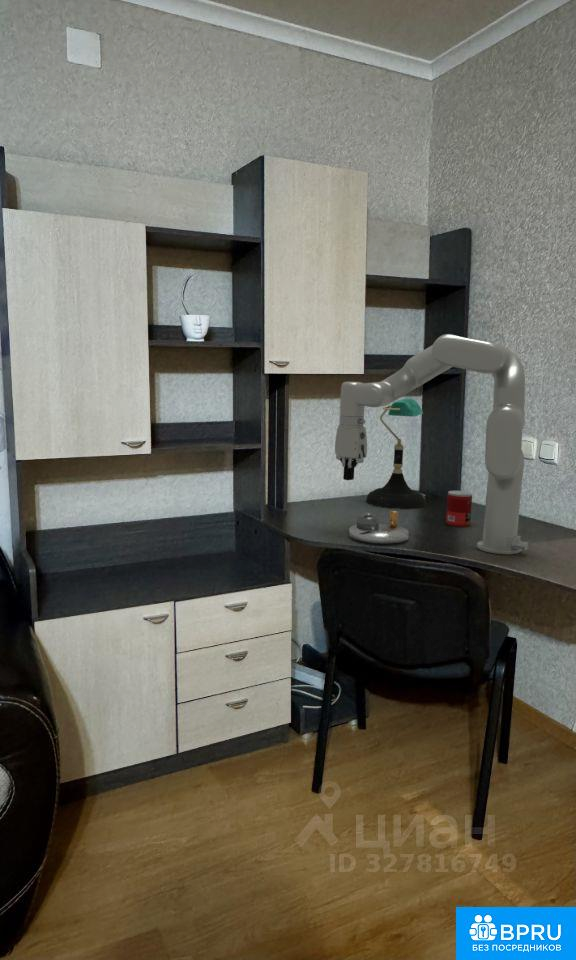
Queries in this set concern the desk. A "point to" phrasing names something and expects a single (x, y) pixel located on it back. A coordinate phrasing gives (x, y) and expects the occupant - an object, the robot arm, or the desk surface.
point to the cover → (367, 521)
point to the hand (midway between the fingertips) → (348, 479)
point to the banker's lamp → (398, 467)
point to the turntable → (381, 532)
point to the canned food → (459, 508)
